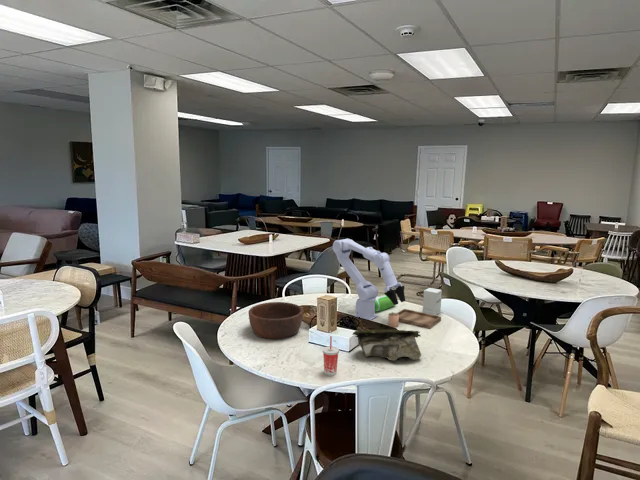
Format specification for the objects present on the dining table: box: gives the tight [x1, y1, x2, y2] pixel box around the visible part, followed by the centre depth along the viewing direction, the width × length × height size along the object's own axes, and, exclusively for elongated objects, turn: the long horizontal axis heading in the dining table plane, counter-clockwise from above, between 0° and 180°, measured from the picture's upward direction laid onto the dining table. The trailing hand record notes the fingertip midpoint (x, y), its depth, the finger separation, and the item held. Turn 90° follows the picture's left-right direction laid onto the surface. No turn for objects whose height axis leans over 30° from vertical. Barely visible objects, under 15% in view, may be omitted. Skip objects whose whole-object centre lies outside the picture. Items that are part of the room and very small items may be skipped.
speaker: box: [375, 294, 395, 313], centre depth 226 cm, size 18×7×8 cm, turn 133°
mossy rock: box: [352, 329, 422, 361], centre depth 166 cm, size 28×13×15 cm
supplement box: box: [422, 287, 443, 316], centre depth 220 cm, size 7×7×13 cm
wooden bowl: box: [248, 301, 304, 340], centre depth 193 cm, size 25×25×10 cm
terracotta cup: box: [387, 312, 400, 328], centre depth 202 cm, size 5×5×6 cm
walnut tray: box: [396, 308, 442, 330], centre depth 209 cm, size 20×15×2 cm
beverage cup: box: [322, 336, 340, 376], centre depth 153 cm, size 6×6×14 cm
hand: (400, 303), depth 199 cm, fingers open, 7 cm apart
